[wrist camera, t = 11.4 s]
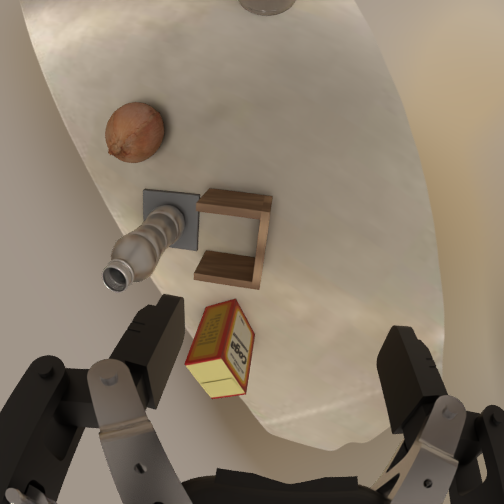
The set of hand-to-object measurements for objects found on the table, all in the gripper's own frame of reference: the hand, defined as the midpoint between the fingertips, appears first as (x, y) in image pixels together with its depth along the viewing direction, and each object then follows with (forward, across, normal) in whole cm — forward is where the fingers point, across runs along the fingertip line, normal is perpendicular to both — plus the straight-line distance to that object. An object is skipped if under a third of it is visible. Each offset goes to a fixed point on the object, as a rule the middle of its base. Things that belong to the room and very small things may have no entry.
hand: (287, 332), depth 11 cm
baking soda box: (+38, +6, +32) cm, 50 cm away
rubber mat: (+38, +18, +12) cm, 44 cm away
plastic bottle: (+38, +18, +12) cm, 43 cm away
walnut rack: (+38, +7, +12) cm, 41 cm away
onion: (+38, +23, -3) cm, 45 cm away
